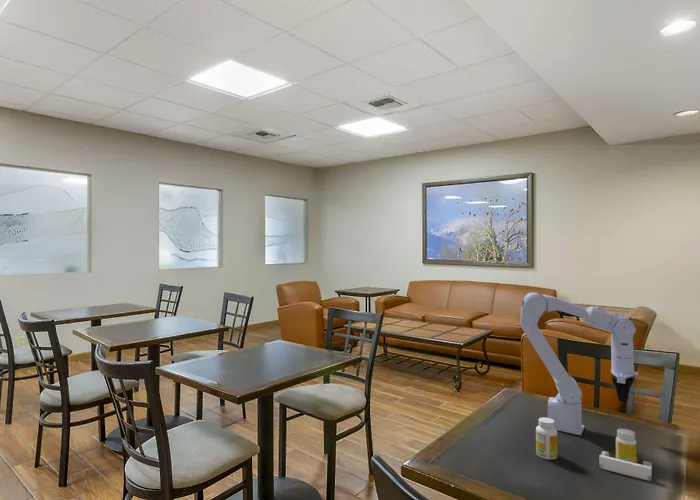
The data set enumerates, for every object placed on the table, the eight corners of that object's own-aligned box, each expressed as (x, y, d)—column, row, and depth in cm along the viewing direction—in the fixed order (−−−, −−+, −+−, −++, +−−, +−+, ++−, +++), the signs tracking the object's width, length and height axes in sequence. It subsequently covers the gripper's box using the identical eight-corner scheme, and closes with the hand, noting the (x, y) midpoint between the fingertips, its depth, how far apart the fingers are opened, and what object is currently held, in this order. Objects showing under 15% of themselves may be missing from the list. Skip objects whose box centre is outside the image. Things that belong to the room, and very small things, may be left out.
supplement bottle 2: (641, 468, 110) (640, 435, 110) (621, 467, 110) (621, 435, 110) (630, 459, 115) (630, 427, 115) (612, 458, 115) (611, 427, 115)
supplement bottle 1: (556, 452, 119) (556, 417, 119) (558, 461, 114) (558, 425, 114) (535, 449, 120) (535, 415, 120) (536, 458, 115) (536, 422, 115)
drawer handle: (599, 468, 110) (599, 456, 110) (602, 455, 117) (602, 444, 117) (651, 481, 104) (651, 469, 104) (651, 467, 110) (651, 456, 110)
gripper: (637, 363, 121) (638, 411, 121) (638, 353, 133) (639, 396, 133) (608, 360, 125) (609, 406, 125) (612, 350, 137) (613, 392, 137)
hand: (623, 401), depth 130 cm, fingers closed
